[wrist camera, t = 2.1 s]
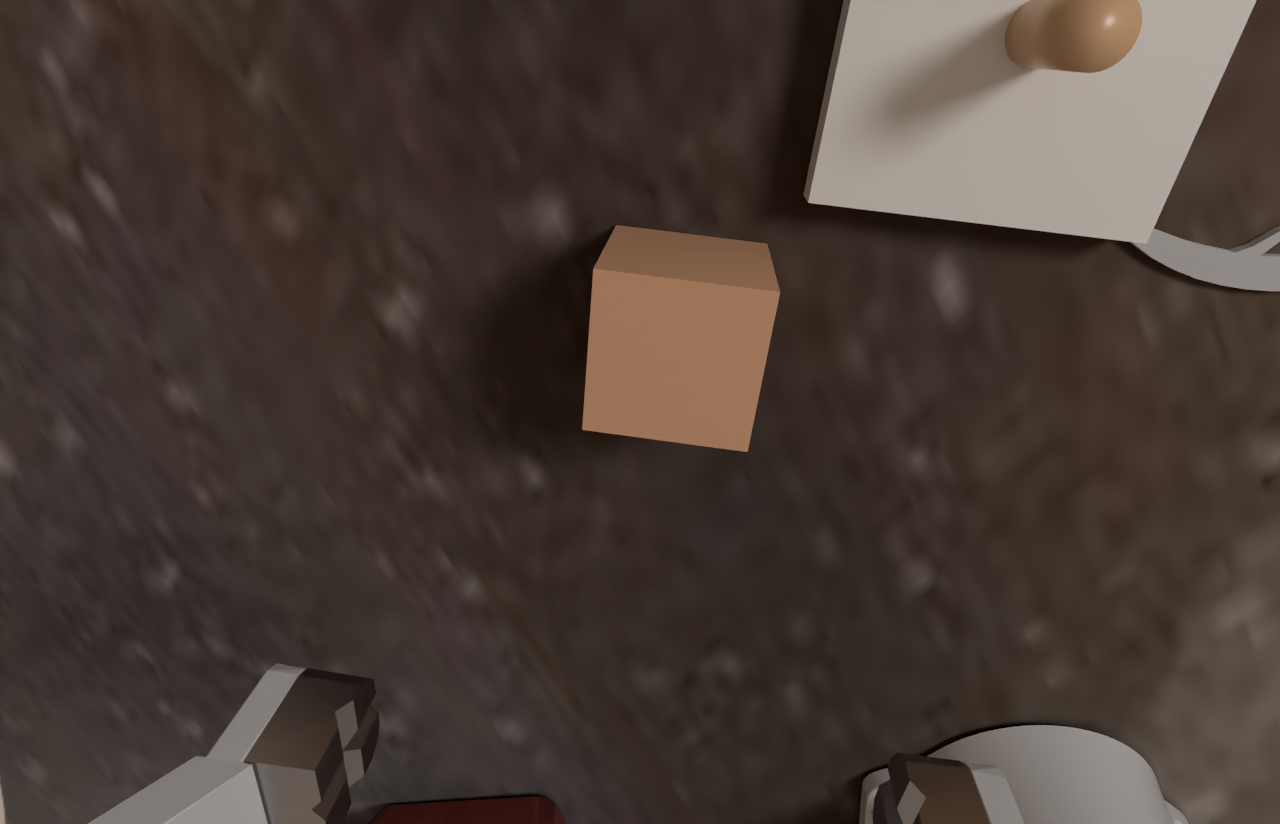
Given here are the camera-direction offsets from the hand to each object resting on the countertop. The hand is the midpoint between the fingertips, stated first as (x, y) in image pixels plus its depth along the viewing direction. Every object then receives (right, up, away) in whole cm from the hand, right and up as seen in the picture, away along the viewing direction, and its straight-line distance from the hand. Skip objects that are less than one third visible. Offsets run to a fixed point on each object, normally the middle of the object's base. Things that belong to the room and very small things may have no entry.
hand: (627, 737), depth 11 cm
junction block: (+13, +18, +12) cm, 25 cm away
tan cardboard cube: (+2, +9, +18) cm, 20 cm away
